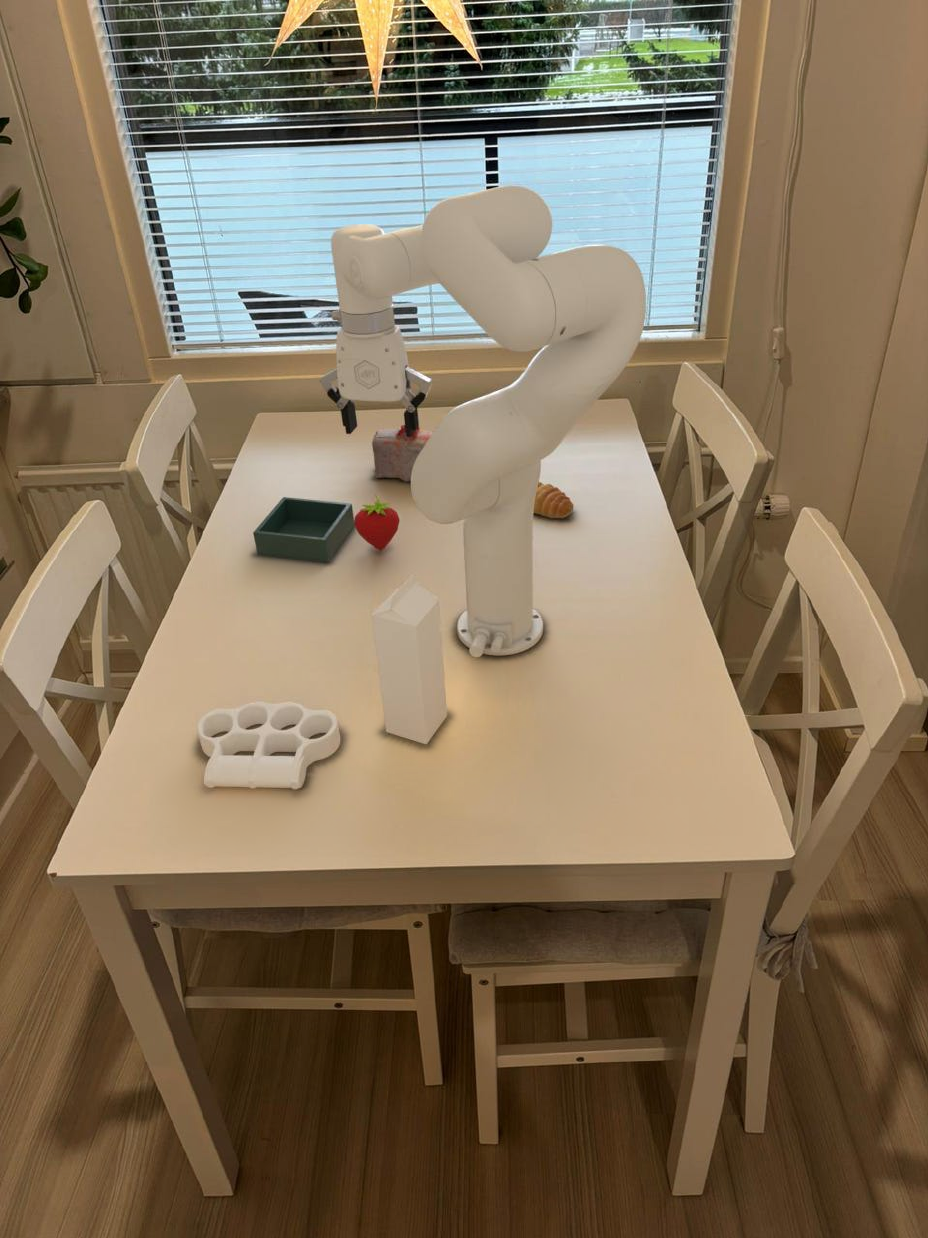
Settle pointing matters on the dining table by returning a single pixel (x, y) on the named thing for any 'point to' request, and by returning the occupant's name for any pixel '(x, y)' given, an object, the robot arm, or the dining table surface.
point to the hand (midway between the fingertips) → (381, 431)
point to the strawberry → (377, 524)
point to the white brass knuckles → (265, 744)
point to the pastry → (552, 502)
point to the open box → (304, 529)
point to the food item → (397, 452)
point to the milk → (410, 662)
